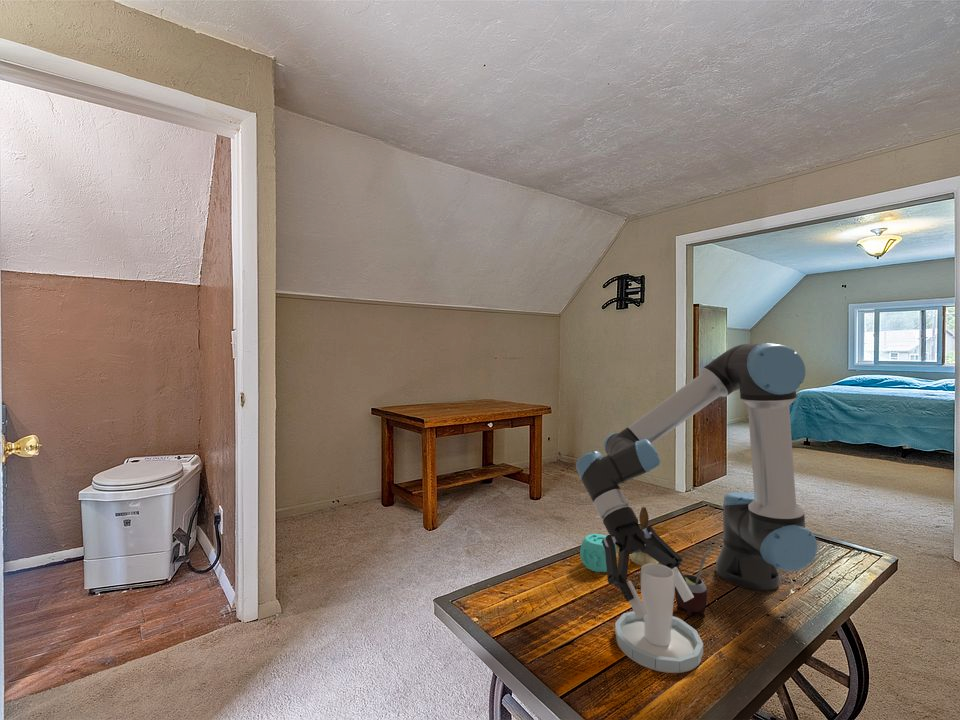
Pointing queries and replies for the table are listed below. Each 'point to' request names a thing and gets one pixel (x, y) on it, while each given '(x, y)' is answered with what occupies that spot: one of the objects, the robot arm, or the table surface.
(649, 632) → the drinking glass
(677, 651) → the dish
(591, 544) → the decorative dice
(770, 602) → the table surface
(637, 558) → the hand bell
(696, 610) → the mate gourd
